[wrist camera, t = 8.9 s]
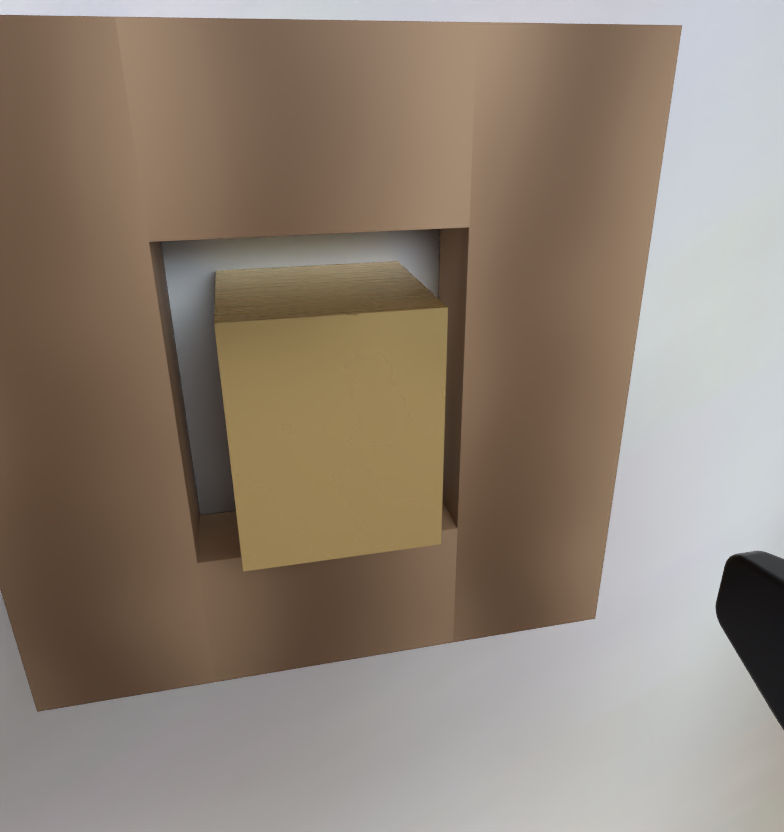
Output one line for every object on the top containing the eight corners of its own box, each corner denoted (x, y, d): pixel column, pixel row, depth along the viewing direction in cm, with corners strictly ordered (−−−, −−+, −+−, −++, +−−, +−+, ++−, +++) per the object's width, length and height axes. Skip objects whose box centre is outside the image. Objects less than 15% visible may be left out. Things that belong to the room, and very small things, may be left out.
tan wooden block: (396, 260, 16) (447, 307, 12) (397, 455, 18) (441, 544, 14) (215, 270, 15) (214, 324, 11) (238, 472, 17) (243, 571, 13)
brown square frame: (626, 34, 15) (682, 25, 13) (562, 573, 20) (595, 618, 19) (-115, 25, 12) (-174, 12, 10) (56, 650, 18) (37, 711, 16)
